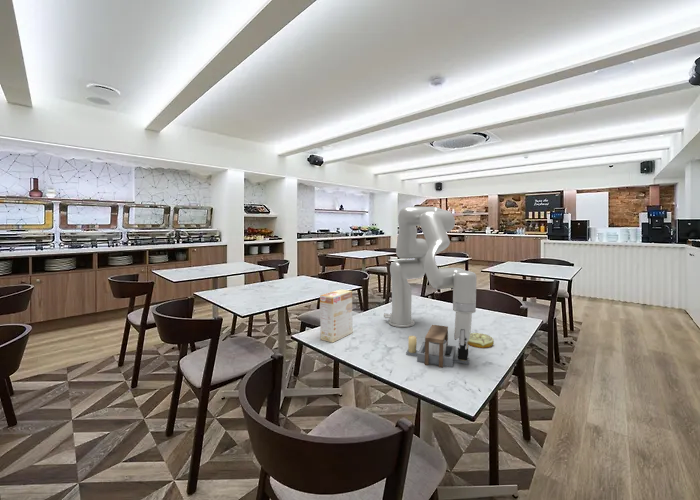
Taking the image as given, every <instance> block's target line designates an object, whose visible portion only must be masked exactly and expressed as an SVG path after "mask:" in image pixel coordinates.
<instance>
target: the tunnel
mask: <svg viewBox="0 0 700 500" xmlns="http://www.w3.org/2000/svg"><path fill="white" fill-rule="evenodd" d="M448 336H449V326H447V325H439V324H438V325H436V324H431V326H430V328H429V329H428V331H427V333H426V335H425V337H424V342H425V363H424V366H429V365H430V364H429V342H437V343H439V365H438V368H443V367H444V366H443V342H444V339H445V340H446V341H447V344H446V345H449V344H448V343H449V341H448V340H449V337H448Z"/></svg>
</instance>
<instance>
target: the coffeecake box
mask: <svg viewBox="0 0 700 500" xmlns="http://www.w3.org/2000/svg"><path fill="white" fill-rule="evenodd" d="M319 309H320V310H319V314H320V315H319V317H320V318H319V319H320V322H319V323H320V340H322V341H325V342H328V343H335V342H337V341H339V340H341V339H343V338H346V337H348V336H349V335H352V334H353V333H354V332H353V290H348V289H341V288H340V289H337V290H333V291H330V292H326V293H324V294H320V295H319Z"/></svg>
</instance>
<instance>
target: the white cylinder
mask: <svg viewBox="0 0 700 500" xmlns="http://www.w3.org/2000/svg"><path fill="white" fill-rule="evenodd" d="M446 344H447V341H446V340H445V339H444V342H443V356H446V354H445V353H446ZM429 354H432V355H439V343H437V342H429Z"/></svg>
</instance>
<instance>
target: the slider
mask: <svg viewBox="0 0 700 500" xmlns="http://www.w3.org/2000/svg"><path fill="white" fill-rule="evenodd" d="M407 341H408V342H407V343H408V348H407V350H406V352H405V354H406V356H413V357H414V356H415V357H416V362H418V363H424V364H425V341H423V342H422V343H421V345H420V347H419V349H418V350H417V347H418V346H417V341H418V340H417V336H416V335H409V336H408V340H407ZM456 349H457V347H456V345H451V344H448V345H446V353H445V356H443V367H450V368H454V367H453V366H454V363H458V364H463V365H464V364H465V365H469V364H470V358H469V357H468V359H467V360H460V359H458V355H456V352H457V351H456ZM467 349H468V350H469V344H467ZM446 355H449V356H446ZM430 364H431V365H436V366H437V365H438V366H439V355H432V354H429V365H430Z"/></svg>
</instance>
